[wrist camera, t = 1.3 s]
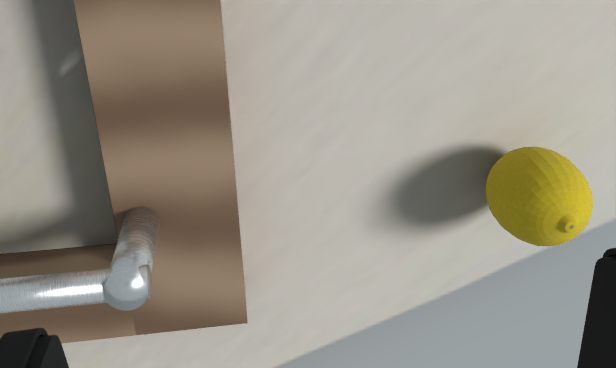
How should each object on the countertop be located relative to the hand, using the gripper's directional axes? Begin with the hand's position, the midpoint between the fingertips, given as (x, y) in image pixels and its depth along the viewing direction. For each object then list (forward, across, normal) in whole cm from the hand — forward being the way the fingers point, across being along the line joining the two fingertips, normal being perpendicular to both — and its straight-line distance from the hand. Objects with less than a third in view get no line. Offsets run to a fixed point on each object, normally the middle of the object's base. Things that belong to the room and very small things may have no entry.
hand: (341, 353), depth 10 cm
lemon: (+26, -16, +10) cm, 32 cm away
